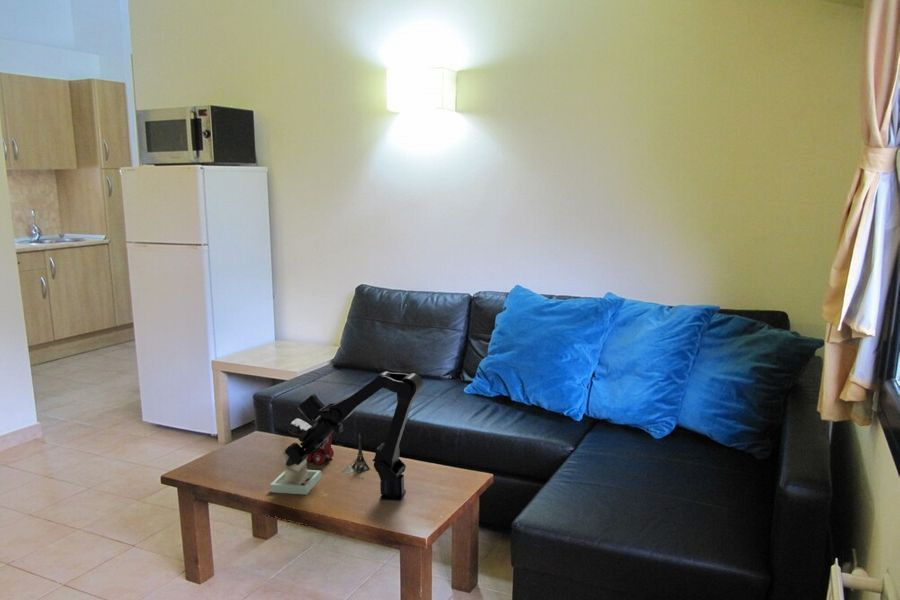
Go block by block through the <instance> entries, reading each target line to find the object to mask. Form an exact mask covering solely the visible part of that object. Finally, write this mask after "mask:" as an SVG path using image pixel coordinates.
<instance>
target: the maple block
mask: <svg viewBox="0 0 900 600" xmlns="http://www.w3.org/2000/svg"><path fill="white" fill-rule="evenodd" d="M300 446H301V445H300ZM301 447H302V446H301ZM285 450H286V449H285ZM285 450H283V452H282V454H283V455H282V457H283V468H284V469H283V472H284V473H285V481H284V484H292V485H303V483H304V482H307V480H309V478H307V470H308V462H307V460H306V459H305V460H304V461H303V462H302V463H300V464H299V465H296V464H294V465H291V466H287V465H286V462H287V460H288V458H289V456H288V455H287V454H286V453H285ZM304 450H305V449H304Z"/></svg>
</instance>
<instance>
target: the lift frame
mask: <svg viewBox="0 0 900 600" xmlns="http://www.w3.org/2000/svg"><path fill="white" fill-rule="evenodd" d="M307 478H308V481H306V483H305V484H301V485H292V484H285V473H284V471H282V472H281V474H279V476H277V477H276V478H275V479H274V480H272V482H271V483H270V484H269V487H270V488H269V489H270V491H269V492H270V493H279V494H293V495H294V494H295V495H308V494H309V493H310V492H311V490H312V489H313V488H314V487H315V486H316V485H317V483H319V481H320V480H321V478H322V471H321V470H318V469H317V470H314V469H313V470H312V469H307Z"/></svg>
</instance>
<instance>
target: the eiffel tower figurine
mask: <svg viewBox="0 0 900 600" xmlns="http://www.w3.org/2000/svg"><path fill="white" fill-rule="evenodd" d="M360 434H361V433H360V432H359V434H358V451H357V456H356V458H354V460H352V461H351V462H350V463H349V464H348V465H347V466H345V468H343V469H342V470H341V473H342V474H343V475H344V476H351V475H353V474H354V473H355V474H358V473H364V472H367V471H372V469H371V468H370V467H369V465H368V463H367V461H366V459H365V458H364V454H363V450H362V449H363V448H362V441H361V439H362V436H361V435H360ZM354 478H357V479H364V478H365V477H361V476H355V477H354Z"/></svg>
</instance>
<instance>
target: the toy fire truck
mask: <svg viewBox="0 0 900 600" xmlns="http://www.w3.org/2000/svg"><path fill="white" fill-rule="evenodd" d="M332 440H333V437H332V433H331V434H330V435H329V436H328V438H327V442H326V443H325V444H324V445H323V446H322V447H320V446H319V449H318V450H317V451H315V452H313V453H310V454H308V455H307V458H306V460H307V463H309V462H311V461H312V460H313V462H314V463H315V464H317V465H321V464H323V463H324V462H325V461H326V460H327V459H328V460H329V459H332V458H333V457H334V454H335V452H334V449H333V448H332Z"/></svg>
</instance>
